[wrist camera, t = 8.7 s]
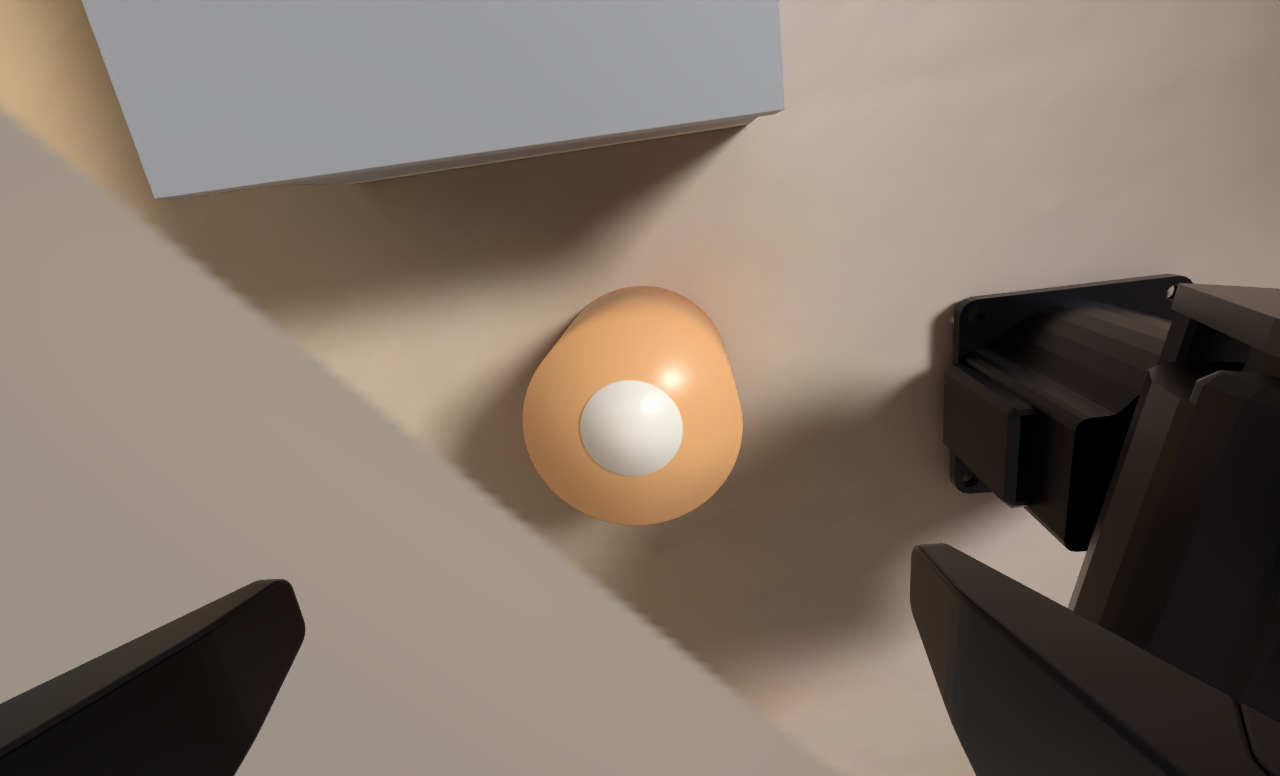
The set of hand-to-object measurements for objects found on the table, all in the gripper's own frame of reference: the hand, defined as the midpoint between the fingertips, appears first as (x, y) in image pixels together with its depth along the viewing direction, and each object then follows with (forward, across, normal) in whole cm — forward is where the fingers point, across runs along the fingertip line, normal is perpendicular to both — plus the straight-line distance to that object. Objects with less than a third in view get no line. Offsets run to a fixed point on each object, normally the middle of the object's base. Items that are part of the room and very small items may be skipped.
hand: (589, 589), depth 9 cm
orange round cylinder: (+12, 0, 0) cm, 12 cm away
